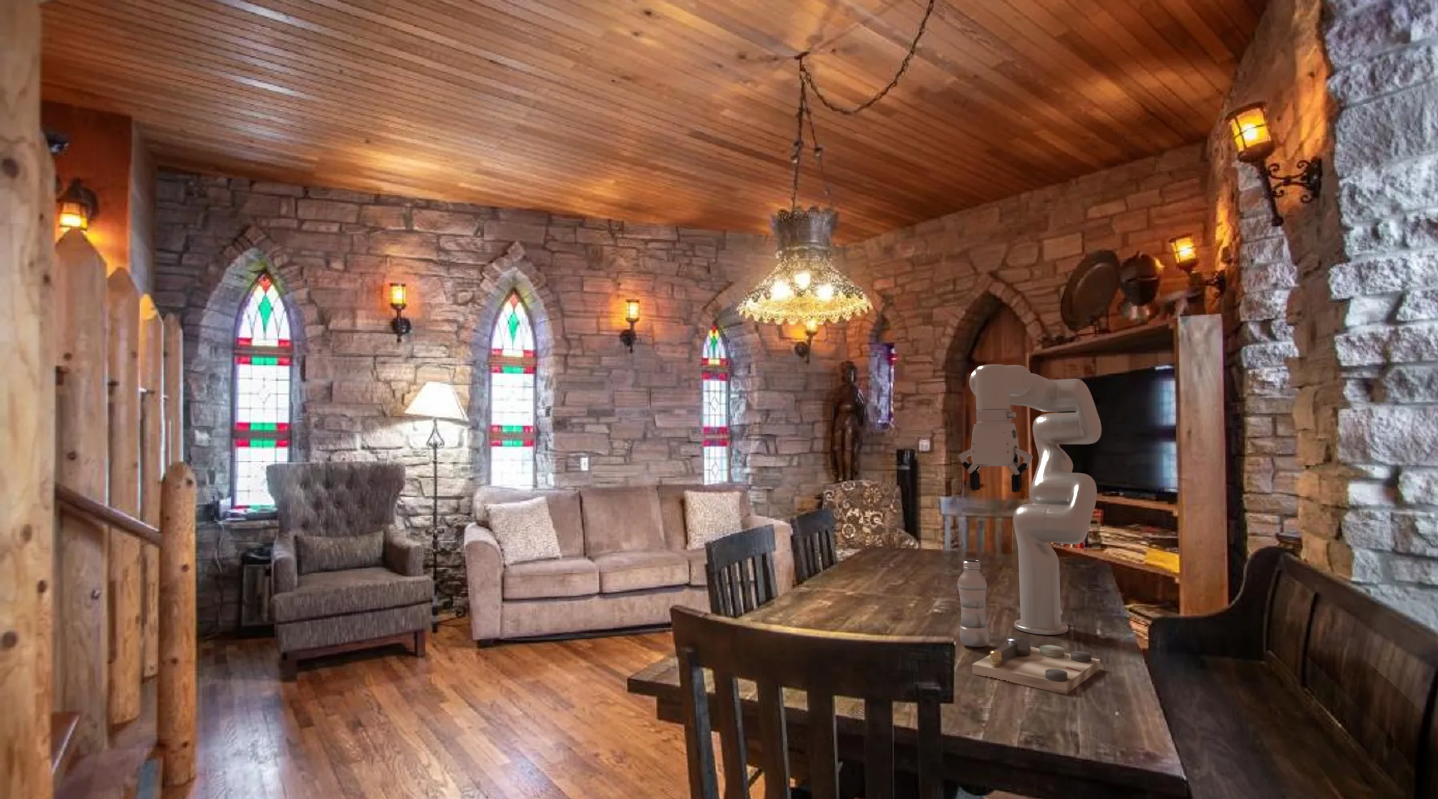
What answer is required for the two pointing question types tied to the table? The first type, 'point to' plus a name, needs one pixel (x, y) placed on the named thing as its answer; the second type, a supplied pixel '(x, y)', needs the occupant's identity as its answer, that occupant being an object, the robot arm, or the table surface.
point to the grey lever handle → (1010, 650)
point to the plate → (1043, 668)
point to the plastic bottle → (973, 605)
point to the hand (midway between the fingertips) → (995, 490)
